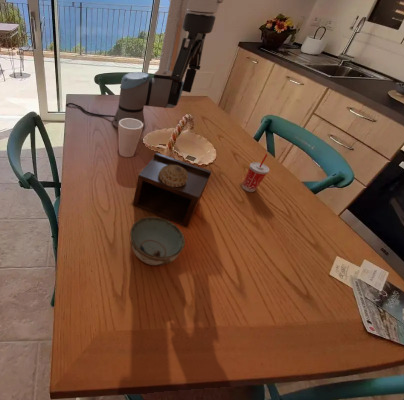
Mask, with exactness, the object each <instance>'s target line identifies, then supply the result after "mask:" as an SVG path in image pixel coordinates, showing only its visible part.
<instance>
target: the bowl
mask: <svg viewBox="0 0 404 400" xmlns="http://www.w3.org/2000/svg"><path fill="white" fill-rule="evenodd" d="M129 235H130V245H131V248H132V251H133V253H134V254H135V256H136V257H137V258H138V260H140V261H141V262H143V263H145V264H147V265H150V266H153V267H162V266H166V265H169V264H170V263H172V262H173V261H175V260H176V259H177V258H178V257H179V255H180V253H182V251H183V249H184V248H185V245H186V239H185V236H184V233H183V232H182V231H181V229H180V228H179V227H178V226H177V224H174V222H172V221H170V220H168V219H165V218H163V217H160V216H145V217H142V218H140V219H137V221H135V222H134V223H133V224H132V226H131V228H130V232H129Z"/></svg>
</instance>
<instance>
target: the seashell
mask: <svg viewBox="0 0 404 400" xmlns="http://www.w3.org/2000/svg"><path fill="white" fill-rule="evenodd" d="M159 178H160V180H161V181H162V182H163V183H164V184H166V185H168V186H172V187H180V186H183V185H184V184H186V182H187V180H188V173H187V171H186V170H185V169H184V168H183V167H181V166H179V165H167V166H165V167H163V168H162V169H161V170H160V172H159Z"/></svg>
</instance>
